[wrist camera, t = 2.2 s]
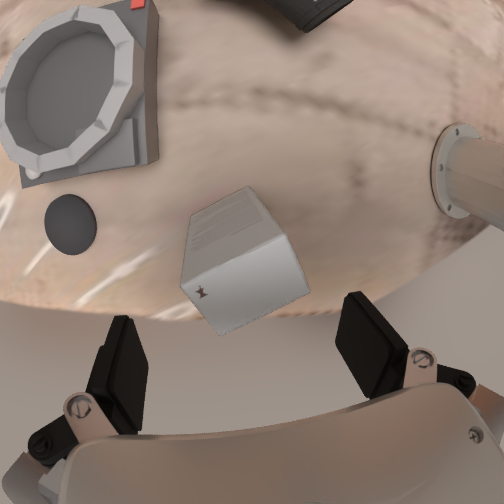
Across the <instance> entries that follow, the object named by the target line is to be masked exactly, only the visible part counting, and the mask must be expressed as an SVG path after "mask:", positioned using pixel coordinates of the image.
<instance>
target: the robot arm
mask: <svg viewBox="0 0 504 504" xmlns="http://www.w3.org/2000/svg"><path fill="white" fill-rule="evenodd" d="M431 178H432V188H433V192H434V196H435V199H436V202H437V204H438V206H439V207H440V209H441V210H442V211H443V212H444V213H445V214H447V215H448V216H450V217H452V218H455V219H463V218H466V217H467V216H469V215H471V214H472V215H474V216H476V217H478V218H480V219H482V220H484V221H486V222H488V223H490V224H492V225H493V226H495V227H497V228H499V229H501V230H503V231H504V144H500V143H496V142H492V141H488V140H483V139H482V137H481V136H480V134H479V133H478V132H477V131H476V130H475V129H474V128H473V127H472V126H470V125H467V124H462V123H456V124H452V125H451V126H449V127H448V128H446V130H445V131H444V132H443V133H442V135H441V136H440V138H439V140H438V142H437V145H436V147H435V151H434V155H433V160H432V176H431ZM335 343H336V347H337V349H338V350H339V352H340V354H341V355H342V357H343V359H344V361H345V362H346V364H347V366H348V367H349V369H350V371H351V373H352V374H353V376H354V378H355V380H356V381H357V383H358V385H359V386H360V389H361V390H362V392H363V394H364V396H365V397H366V398H369V399H370V400H368V401H366V402H362V403H359V404H356V405H353V406H350V407H347V408H343V409H340V410H336V411H333V412H329V413H325V414H321V415H317V416H313V417H309V418H305V419H301V420H296V421H292V422H287V423H281V424H275V425H270V426H264V427H257V428H250V429H243V430H235V431H225V432H215V433H201V434H176V435H138V431H141V430H142V421H143V410H144V401H145V392H146V384H147V376H148V361H147V359H146V356H145V353H144V350H143V347H142V345H141V342H140V339H139V336H138V333H137V330H136V327H135V324H134V321H133V319H131V318H129V317H128V316H127V315H119V316H114V319H113V321H112V324H111V327H110V329H109V332H108V335H107V338H106V341H105V344H104V345H103V346H100V348H99V350H98V353H97V356H96V359H95V362H94V365H93V368H92V371H91V375H90V378H89V381H88V385H87V388H86V391H85V392H78V393H75V394H72V395H71V396H69V397H68V398H67V400H66V401H65V403H64V407H63V411H64V415H62V416H61V417H59V418H57V419H56V420H54V421H53V422H51V423H49V424H48V425H46V426H45V427H43V428H41V429H40V430H38V431H37V432H35V433H34V434H32V435H31V437H30V439H29V441H28V450H29V451H28V452H27V453H25V452H23V453H22V454H21V455H20V457H19V458H18V459H17V460H16V461H15V463H14V464H13V465H12V466H11V467H10V469H9V470H8V471H7V472H6V474H5V475H4V476H3V479H2V487H3V490H4V492H5V493H6V495H7V496H8V497H9V498H10V500H11V501H12V502H13V503H14V504H504V453H503V451H502V449H501V447H500V445H499V444H500V441H501V438H502V435H503V432H504V397H503V396H501V395H499V394H497V393H495V392H493V391H492V390H490V389H488V388H486V387H484V386H482V385H481V384H479V385H478V386H476V381H475V380H474V378H473V376H472V375H470V374H469V373H468V372H465V371H462V370H458V369H454V368H451V367H447V366H443V365H439V364H437V359H436V357H435V355H434V354H433V353H432V352H431V351H429V350H428V349H425V348H414V349H412V350H411V351H410V350H409V349H408V345H407V344H406V343H405V341H404V340H403V339H402V338H401V337H400V335H399V334H398V333H397V332H396V331H395V330H394V328H393V327H392V326H391V325H390V324H389V322H388V321H387V320H386V319H385V318H384V317H383V315H382V314H381V313H380V312H379V311H378V310H377V309H376V307H375V306H374V305H373V304H372V303H371V302H370V301H369V299H368V298H367V297H366V296H365V295H364V294H363V293H362V292H361V291H357V292H351V293H348V295H347V296H346V297H345V298H344V302H343V307H342V312H341V317H340V322H339V326H338V331H337V335H336V339H335Z"/></svg>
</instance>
